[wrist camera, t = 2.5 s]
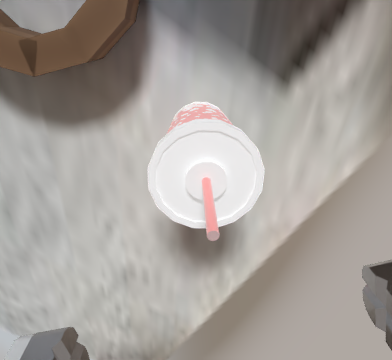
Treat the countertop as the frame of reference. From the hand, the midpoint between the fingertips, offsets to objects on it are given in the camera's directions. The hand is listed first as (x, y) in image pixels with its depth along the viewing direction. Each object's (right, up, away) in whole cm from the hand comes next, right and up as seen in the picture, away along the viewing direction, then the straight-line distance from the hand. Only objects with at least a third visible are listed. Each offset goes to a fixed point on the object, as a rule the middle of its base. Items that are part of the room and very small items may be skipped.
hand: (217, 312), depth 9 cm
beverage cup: (0, +8, +16) cm, 18 cm away
